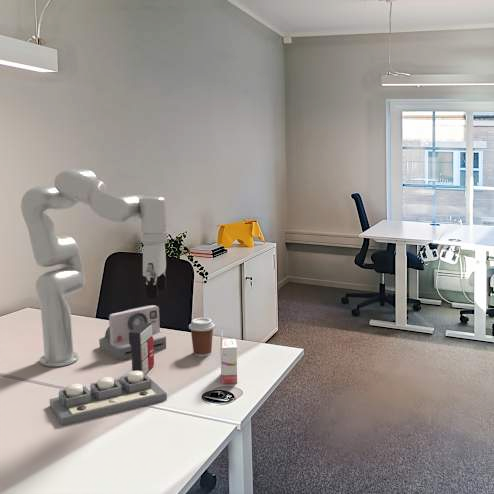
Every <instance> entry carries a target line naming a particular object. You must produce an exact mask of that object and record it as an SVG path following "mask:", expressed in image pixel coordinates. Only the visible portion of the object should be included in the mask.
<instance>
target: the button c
mask: <svg viewBox="0 0 494 494" xmlns="http://www.w3.org/2000/svg"><path fill="white" fill-rule="evenodd" d="M126 376H128V383H129V384H133V383H138V382H142V381H143V372H142V371H132V370H131V371H129V372H127V374H126Z"/></svg>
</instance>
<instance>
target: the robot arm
mask: <svg viewBox="0 0 494 494" xmlns="http://www.w3.org/2000/svg"><path fill="white" fill-rule="evenodd" d="M97 177H98V176H96V174H95V173H94V172H93V171H92V170H89V169H86V168H79V169H78V168H76V169H66V170H62V171H60V172H59V173H58V174H57V175H55V177H54V182H53V183H54V184H52V185H51V184H50V185H40V186H36V187H33V188H32V187H31V188H30V189H28V190H27V191H25V193H24V194H23V196H22V197H21V201H20V210H21V213H22V217H23V220H24V223H25V225H26V228H27V231H28V234H29V235H28V236H29V240H30V244H31V249H32V253H33V256H34V262H35V263H36V264H37V265H38V267H40V268H51V267H55V266H58V265H60V266H59V267H60V268H56V269H52V270H49V271H45V272H44V273H41V275H39V277H37V280H36V283H35V290H36V293H37V297H38V300H39V306H40V314H41V315H40V316H41V317H40V318H41V326H42V327H41V328H42V339H43V340H42V341H43V356H41V357H40V359H39V363H40V365H42V366H44V367H50V368H51V367H52V368H53V367H55V368H57V367H65V366H68V365H71V364H74V363H75V362H77V361H78V359H79V354H78V352H75V351H74V343H73V340H74V339H73V330H72V329H73V328H72V327H73V326H72V312H71V308H70V307H71V306H70V305H69V303H68V302H67V300H66V298H65V297H66V296H69V295H72V294H75V293H78V292H80V291H81V290H82V289H84V287H85V284H86V274H85V271H84V270H85V269H84V266H83V265H84V264H83V260H82V255H81V252H80V251H81V250H80V247H79V245H78V243H77V241H76V240H75V239H74V238H73V237H71V236H70V235H58V234H57V231H56V226H55V223H54V221H53V220H52V218H51V217H50V216H49V215H48V214H47V213H49V212H54V211H62V210H67V209H70V208H72V207H75V206H76V205H77V204H79V203H82V204H84V205H87V206H88V207H89V208H90V209H91V211H93V212H94V214H95V215H97V216H99V217H100V218H104V219H106V220H107V221H108V220H109V221H111V222H113V223H114V222H115V223H126V222H131V221H137V220H140V230H141V232H140V233H141V244H142V245H143V249H142V276H143V277H144V278H145V280H146V281H145V287H146V298H147V299H157V298H158V297H159V295H158V293H159V292H158V291H161V290H162V291H165V290H166V289H167V278H166V269H167V258H166V257H167V256H166V246H165V244H167V243H168V228H167V227H168V225H167V203H166V199H165V198H164V197H162V196H148V195H147V196H146V195H142V194H134V195H133V194H131V195H124V196H115V195H112V194H109V193H108V192H107V190H108V189H107V186H106V184H105V183H104V182H103V181H102V180H99V179H98V178H97Z"/></svg>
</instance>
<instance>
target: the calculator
mask: <svg viewBox="0 0 494 494" xmlns="http://www.w3.org/2000/svg"><path fill="white" fill-rule="evenodd" d="M129 344H130V346H131V353H132V358H131V371H142V372H143V373H144V374H146V375H147V373H148V372H149V371H150V370H151V369H152V368H153V367H154V366H155V352H154V347H153V337H152V325H151V323H140V324H139V325H138V326H136V327H135V328H134V329H133V330H131V331H130V332H129Z"/></svg>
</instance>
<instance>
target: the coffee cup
mask: <svg viewBox="0 0 494 494" xmlns="http://www.w3.org/2000/svg"><path fill="white" fill-rule="evenodd" d="M215 328H216V326H215V323H214V322H212V319H211V318H208V317H198V318H193V319H192V320H191V323H190V324H189V325H188V329H189V330H190V335H191V343H192V350H193V351H192V352H193V355H194V356H197V357H207V356H210V355H212V353H213V352H212V350H213V333H214V329H215Z"/></svg>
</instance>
